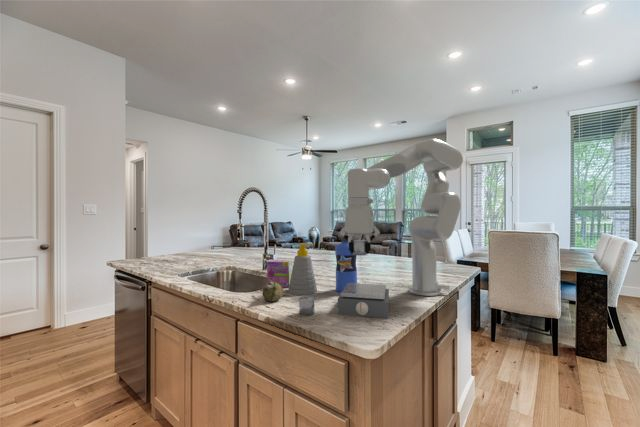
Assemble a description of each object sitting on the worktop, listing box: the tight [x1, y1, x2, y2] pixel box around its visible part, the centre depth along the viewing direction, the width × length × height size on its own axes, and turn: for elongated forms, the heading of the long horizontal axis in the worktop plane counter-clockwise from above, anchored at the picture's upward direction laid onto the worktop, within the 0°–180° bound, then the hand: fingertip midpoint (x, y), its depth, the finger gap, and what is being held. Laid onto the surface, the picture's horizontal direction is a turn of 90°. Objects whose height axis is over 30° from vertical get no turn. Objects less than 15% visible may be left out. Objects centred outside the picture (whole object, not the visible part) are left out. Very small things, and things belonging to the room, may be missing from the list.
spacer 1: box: [298, 295, 315, 317], centre depth 95 cm, size 5×5×5 cm
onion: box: [262, 280, 284, 302], centre depth 110 cm, size 8×8×8 cm
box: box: [266, 259, 293, 289], centre depth 132 cm, size 10×6×12 cm, turn 80°
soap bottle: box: [287, 243, 318, 296], centre depth 123 cm, size 12×12×20 cm
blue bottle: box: [334, 232, 358, 294], centre depth 123 cm, size 9×9×25 cm
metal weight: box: [352, 239, 368, 256], centre depth 104 cm, size 5×5×5 cm
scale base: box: [337, 288, 390, 319], centre depth 100 cm, size 16×17×5 cm
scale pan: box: [340, 282, 387, 299], centre depth 100 cm, size 14×14×1 cm
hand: (359, 252), depth 104 cm, fingers closed on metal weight, 5 cm apart
